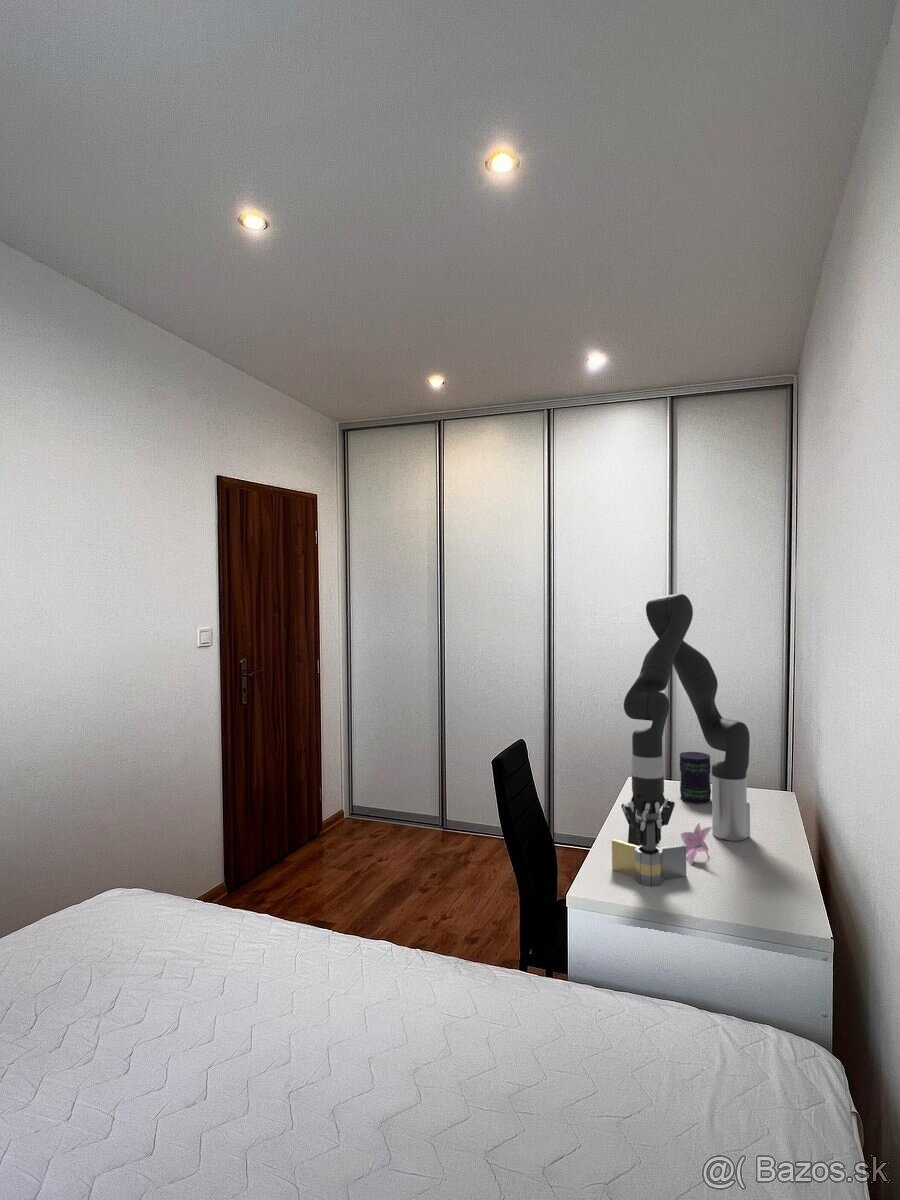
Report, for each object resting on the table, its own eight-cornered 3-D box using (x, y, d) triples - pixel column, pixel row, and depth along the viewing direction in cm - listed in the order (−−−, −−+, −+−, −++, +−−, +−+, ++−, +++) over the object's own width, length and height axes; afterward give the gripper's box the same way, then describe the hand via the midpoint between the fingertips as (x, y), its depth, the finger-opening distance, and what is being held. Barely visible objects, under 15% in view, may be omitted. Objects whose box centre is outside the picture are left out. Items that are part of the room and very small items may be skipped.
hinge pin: (652, 873, 167) (651, 807, 167) (663, 881, 163) (662, 813, 163) (635, 875, 166) (634, 809, 166) (645, 883, 161) (644, 815, 161)
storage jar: (707, 805, 220) (706, 760, 220) (676, 801, 226) (675, 756, 226) (714, 797, 229) (713, 753, 228) (684, 793, 234) (683, 750, 234)
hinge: (664, 861, 176) (664, 833, 175) (692, 880, 164) (692, 849, 164) (611, 868, 172) (610, 839, 172) (635, 888, 160) (635, 857, 160)
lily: (682, 851, 185) (669, 825, 183) (721, 840, 181) (708, 813, 180) (687, 879, 175) (673, 853, 173) (729, 868, 171) (715, 840, 169)
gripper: (664, 766, 170) (665, 835, 170) (613, 771, 166) (615, 841, 166) (682, 774, 162) (683, 845, 162) (629, 779, 159) (630, 852, 159)
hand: (648, 843), depth 164 cm, fingers closed on hinge pin, 3 cm apart
